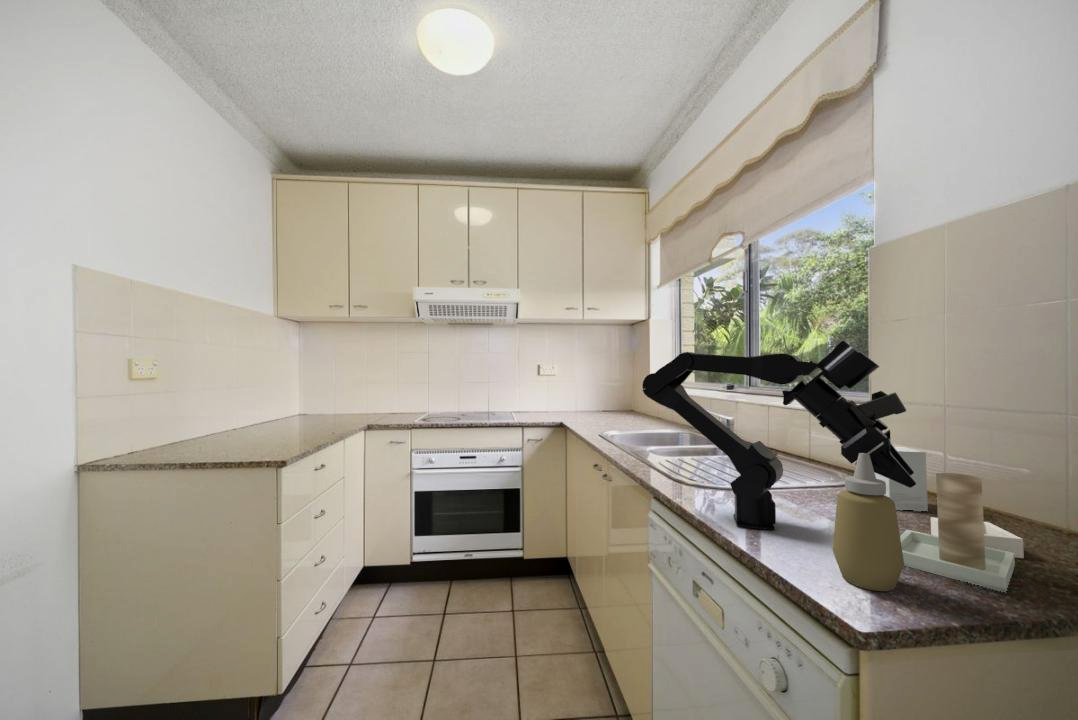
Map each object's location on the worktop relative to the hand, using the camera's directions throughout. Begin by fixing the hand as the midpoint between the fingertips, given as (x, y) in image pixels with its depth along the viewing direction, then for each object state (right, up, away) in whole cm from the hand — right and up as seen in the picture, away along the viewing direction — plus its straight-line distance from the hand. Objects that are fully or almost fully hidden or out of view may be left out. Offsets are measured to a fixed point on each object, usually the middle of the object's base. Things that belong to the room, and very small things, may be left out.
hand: (912, 479), depth 69 cm
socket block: (+14, -12, +4) cm, 19 cm away
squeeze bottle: (-14, -12, -9) cm, 20 cm away
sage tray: (+3, -12, -3) cm, 13 cm away
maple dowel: (+4, -12, -4) cm, 13 cm away
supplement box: (+19, -13, +26) cm, 35 cm away
